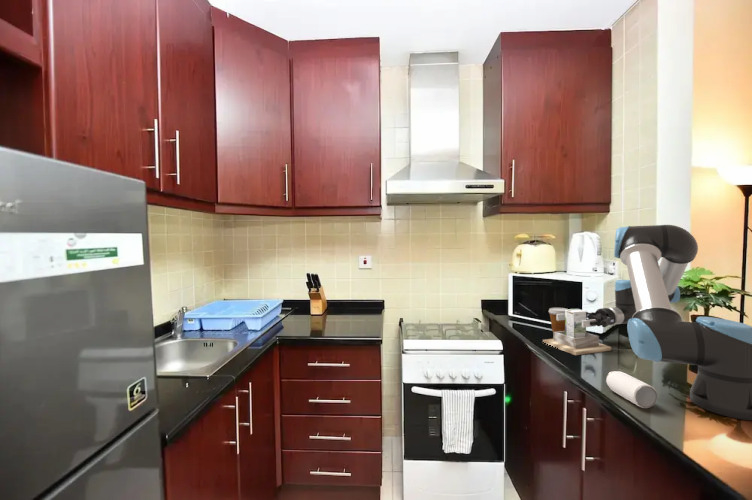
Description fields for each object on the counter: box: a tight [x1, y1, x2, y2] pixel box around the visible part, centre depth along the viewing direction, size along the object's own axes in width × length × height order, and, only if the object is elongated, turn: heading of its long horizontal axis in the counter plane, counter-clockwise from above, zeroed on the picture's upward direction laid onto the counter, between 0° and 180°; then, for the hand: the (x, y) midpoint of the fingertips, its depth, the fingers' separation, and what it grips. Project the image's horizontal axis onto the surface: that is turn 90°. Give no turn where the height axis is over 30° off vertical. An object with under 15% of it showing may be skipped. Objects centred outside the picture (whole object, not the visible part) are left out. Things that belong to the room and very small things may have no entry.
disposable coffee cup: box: [548, 307, 567, 333], centre depth 167 cm, size 10×10×12 cm
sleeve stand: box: [542, 331, 612, 356], centre depth 145 cm, size 18×18×6 cm
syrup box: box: [565, 308, 587, 338], centre depth 145 cm, size 6×6×14 cm
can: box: [605, 370, 658, 409], centre depth 97 cm, size 6×6×12 cm
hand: (569, 320), depth 145 cm, fingers open, 13 cm apart
